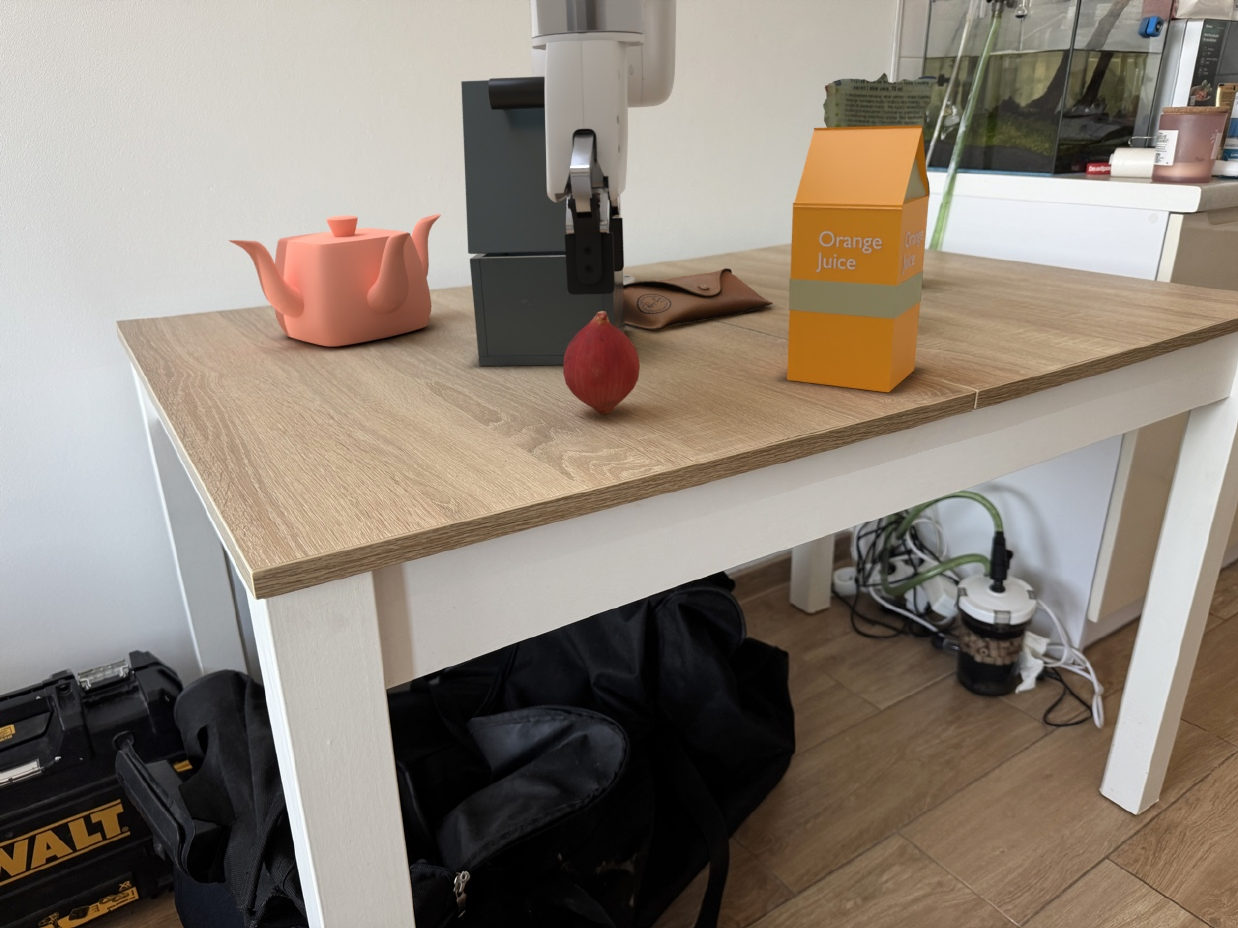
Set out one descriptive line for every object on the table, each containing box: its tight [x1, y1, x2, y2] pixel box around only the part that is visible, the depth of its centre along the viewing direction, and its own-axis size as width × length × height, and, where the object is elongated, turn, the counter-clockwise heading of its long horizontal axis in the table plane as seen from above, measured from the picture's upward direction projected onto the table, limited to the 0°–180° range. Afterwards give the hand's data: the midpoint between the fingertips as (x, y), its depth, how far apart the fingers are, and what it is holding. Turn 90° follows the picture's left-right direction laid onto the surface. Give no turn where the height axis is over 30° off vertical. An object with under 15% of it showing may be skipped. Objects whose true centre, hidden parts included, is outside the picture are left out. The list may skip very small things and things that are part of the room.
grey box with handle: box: [460, 76, 567, 255], centre depth 77 cm, size 15×13×6 cm
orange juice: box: [786, 125, 930, 393], centre depth 75 cm, size 8×9×20 cm
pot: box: [228, 213, 442, 347], centre depth 98 cm, size 18×17×12 cm
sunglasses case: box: [623, 267, 774, 330], centre depth 103 cm, size 18×7×7 cm
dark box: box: [469, 252, 626, 367], centre depth 89 cm, size 14×13×10 cm
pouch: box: [822, 72, 939, 198], centre depth 111 cm, size 11×12×25 cm
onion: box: [562, 311, 641, 415], centre depth 69 cm, size 6×6×8 cm
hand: (597, 281), depth 67 cm, fingers open, 9 cm apart
